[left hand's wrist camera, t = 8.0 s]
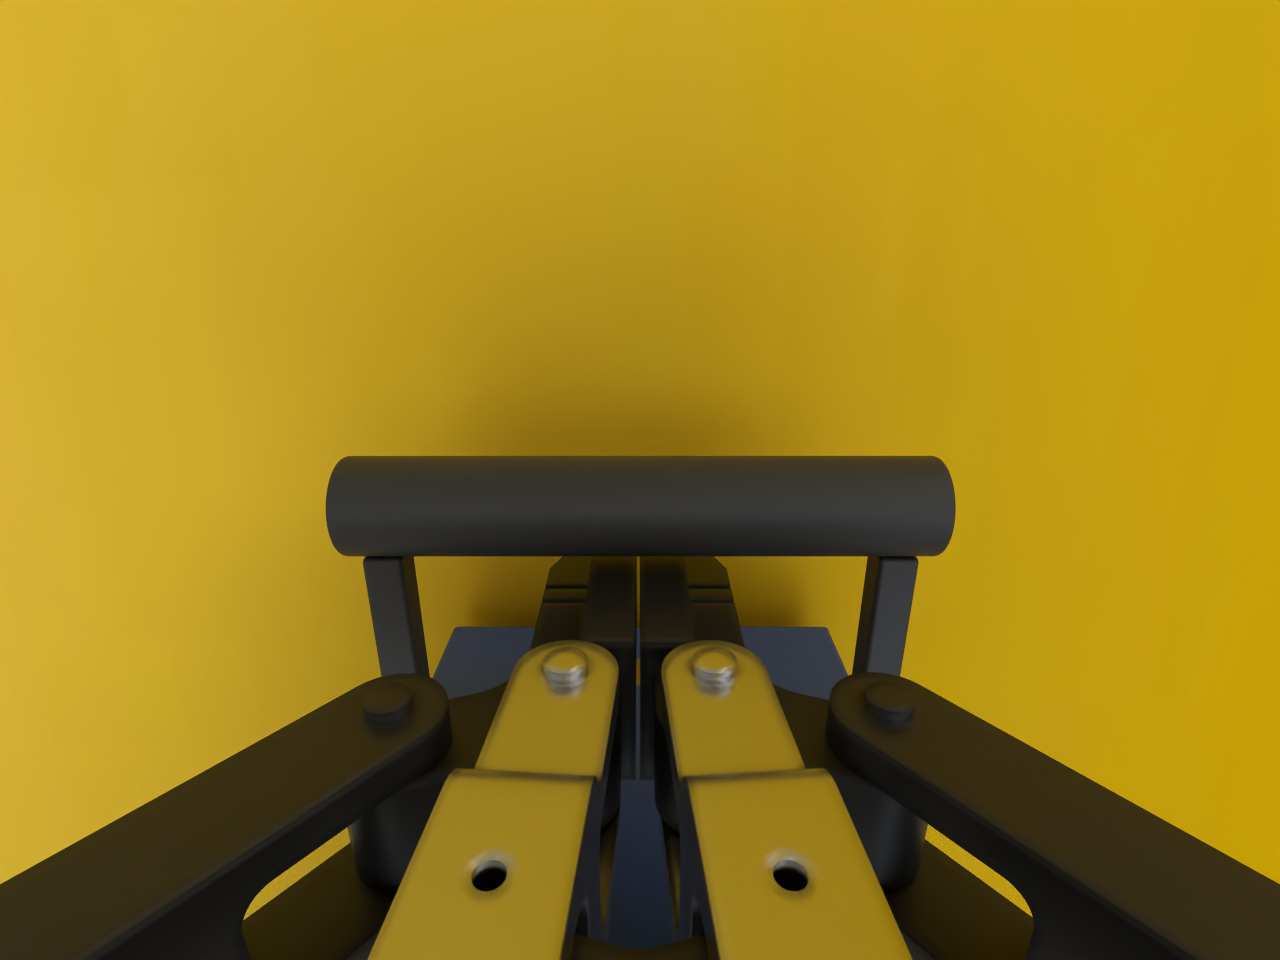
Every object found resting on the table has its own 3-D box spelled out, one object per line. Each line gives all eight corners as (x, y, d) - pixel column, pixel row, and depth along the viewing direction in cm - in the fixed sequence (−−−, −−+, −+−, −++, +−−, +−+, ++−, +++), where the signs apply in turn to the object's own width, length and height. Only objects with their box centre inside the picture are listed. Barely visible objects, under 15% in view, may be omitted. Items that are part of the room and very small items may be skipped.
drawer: (426, 383, 14) (189, 576, 7) (855, 383, 14) (1092, 576, 7) (506, 1073, 23) (439, 1501, 15) (776, 1073, 23) (843, 1503, 15)
